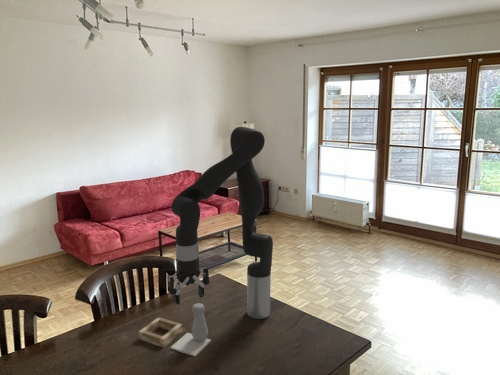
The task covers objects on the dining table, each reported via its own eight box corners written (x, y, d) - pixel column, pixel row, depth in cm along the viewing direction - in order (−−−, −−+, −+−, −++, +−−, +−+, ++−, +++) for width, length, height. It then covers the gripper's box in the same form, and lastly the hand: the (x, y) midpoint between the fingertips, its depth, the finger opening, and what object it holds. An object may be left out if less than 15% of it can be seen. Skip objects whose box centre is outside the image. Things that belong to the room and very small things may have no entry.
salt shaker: (188, 339, 140) (186, 305, 138) (201, 332, 144) (198, 299, 142) (199, 345, 136) (196, 310, 134) (212, 338, 140) (209, 304, 138)
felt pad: (187, 334, 144) (187, 332, 144) (211, 341, 140) (211, 339, 140) (170, 348, 136) (170, 347, 136) (195, 356, 131) (195, 355, 131)
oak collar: (158, 324, 151) (158, 317, 150) (182, 331, 146) (182, 324, 145) (138, 339, 141) (138, 331, 140) (163, 347, 136) (163, 339, 136)
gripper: (171, 264, 125) (174, 311, 128) (211, 254, 132) (213, 298, 136) (162, 256, 131) (165, 301, 134) (201, 247, 138) (203, 290, 142)
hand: (189, 300), depth 135 cm, fingers open, 8 cm apart
